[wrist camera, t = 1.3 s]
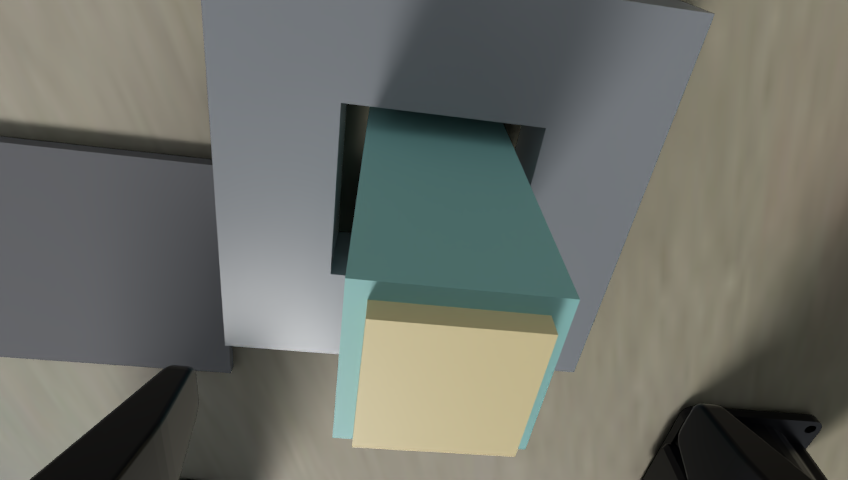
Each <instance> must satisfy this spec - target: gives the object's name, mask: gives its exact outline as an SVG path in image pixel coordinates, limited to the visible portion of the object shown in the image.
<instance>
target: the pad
mask: <svg viewBox="0 0 848 480" xmlns="http://www.w3.org/2000/svg"><path fill="white" fill-rule="evenodd" d="M0 357H11V358H26V359H40V360H54V361H68V362H82V363H96V364H110V365H124V366H138V367H153V368H165V367H167V366H170V365H180V366H191V367H193V368H194V369H195V371H209V372H223V373H231V371H232V369H233V349H232V346H225V337H224V322H223V308H222V294H221V279H220V265H219V250H218V236H217V222H216V207H215V193H214V178H213V164H212V160H211V159H202V158H193V157H184V156H175V155H166V154H157V153H148V152H138V151H129V150H120V149H111V148H102V147H93V146H84V145H75V144H65V143H56V142H47V141H38V140H29V139H20V138H11V137H2V136H0Z"/></svg>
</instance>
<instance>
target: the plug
mask: <svg viewBox="0 0 848 480" xmlns="http://www.w3.org/2000/svg"><path fill="white" fill-rule="evenodd" d="M579 301H580V298H579V296H578V294H577V291H576V289H575V287H574V284H573V282H572V280H571V278H570V275H569V273H568V271H567V268H566V266H565V264H564V262H563V259H562V257H561V255H560V252H559V250H558V248H557V246H556V243H555V241H554V239H553V236H552V234H551V232H550V230H549V227H548V225H547V223H546V220H545V218H544V216H543V214H542V211H541V209H540V207H539V204H538V202H537V200H536V198H535V195H534V193H533V191H532V188H531V186H530V184H529V182H528V179H527V177H526V175H525V172H524V170H523V168H522V166H521V163H520V161H519V159H518V156H517V154H516V152H515V150H514V147H513V145H512V143H511V140H510V138H509V136H508V134H507V131H506V129H505V127H504V124H503V123H501V122H493V121H484V120H476V119H468V118H460V117H452V116H444V115H436V114H427V113H419V112H411V111H403V110H395V109H387V108H379V107H370V108H369V115H368V122H367V129H366V136H365V143H364V150H363V157H362V164H361V171H360V178H359V185H358V192H357V199H356V206H355V213H354V220H353V226H352V233H351V240H350V247H349V254H348V261H347V268H346V275H345V285H344V298H343V311H342V323H341V336H340V349H339V362H338V374H337V387H336V400H335V413H334V425H333V438H346V439H353V441H352V447H357V448H374V449H391V450H407V451H424V452H441V453H458V454H475V455H492V456H509V457H515V456H516V453H517V450H518V449H526V446H527V443H528V441H529V438H530V435H531V432H532V430H533V427H534V424H535V421H536V419H537V416H538V413H539V410H540V408H541V405H542V402H543V400H544V397H545V394H546V391H547V389H548V386H549V383H550V380H551V378H552V375H553V372H554V370H555V367H556V364H557V361H558V359H559V356H560V353H561V350H562V348H563V345H564V342H565V340H566V337H567V334H568V331H569V329H570V326H571V323H572V320H573V318H574V315H575V312H576V310H577V307H578V304H579Z"/></svg>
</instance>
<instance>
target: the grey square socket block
mask: <svg viewBox="0 0 848 480" xmlns="http://www.w3.org/2000/svg"><path fill="white" fill-rule="evenodd" d="M201 6H202V20H203V34H204V49H205V63H206V78H207V92H208V106H209V121H210V135H211V150H212V164H213V178H214V193H215V207H216V222H217V236H218V250H219V265H220V279H221V294H222V308H223V322H224V337H225V346H237V347H250V348H263V349H277V350H290V351H303V352H316V353H329V354H339V349H340V336H341V323H342V311H343V298H344V285H345V275H346V268H347V261H348V254H349V247H350V240H351V233H348V232H338V228H339V213H340V198H341V183H342V168H343V153H344V138H345V123H346V108H347V104H354V105H362V106H370V107H379V108H387V109H395V110H403V111H411V112H419V113H427V114H436V115H444V116H452V117H460V118H468V119H476V120H484V121H493V122H501V123H509V124H517V125H521V128H520V132H519V136H518V141H517V145H516V149H515V152H516V154H517V156H518V159H519V161H520V163H521V166H522V168H523V170H524V172H525V175H526V177H527V179H528V182H529V184H530V186H531V188H532V191H533V193H534V195H535V198H536V200H537V202H538V204H539V207H540V209H541V211H542V214H543V216H544V218H545V220H546V223H547V225H548V227H549V230H550V232H551V234H552V236H553V239H554V241H555V243H556V246H557V248H558V250H559V252H560V255H561V257H562V259H563V262H564V264H565V266H566V268H567V271H568V273H569V275H570V278H571V280H572V282H573V284H574V287H575V289H576V291H577V294H578V296H579V298H580V301H579V304H578V307H577V310H576V312H575V315H574V318H573V320H572V323H571V326H570V329H569V331H568V334H567V337H566V340H565V342H564V345H563V348H562V350H561V353H560V356H559V359H558V361H557V364H556V367H555V370H554V371H567V372H574V371H575V368H576V365H577V363H578V360H579V358H580V355H581V353H582V350H583V348H584V345H585V343H586V340H587V337H588V335H589V332H590V330H591V327H592V325H593V322H594V320H595V317H596V315H597V312H598V309H599V307H600V304H601V302H602V299H603V297H604V294H605V292H606V289H607V287H608V284H609V282H610V279H611V276H612V274H613V271H614V269H615V266H616V264H617V261H618V259H619V256H620V254H621V251H622V248H623V246H624V243H625V241H626V238H627V236H628V233H629V231H630V228H631V226H632V223H633V221H634V218H635V215H636V213H637V210H638V208H639V205H640V203H641V200H642V198H643V195H644V193H645V190H646V187H647V185H648V182H649V180H650V177H651V175H652V172H653V170H654V167H655V165H656V162H657V159H658V157H659V154H660V152H661V149H662V147H663V144H664V142H665V139H666V137H667V134H668V132H669V129H670V126H671V124H672V121H673V119H674V116H675V114H676V111H677V109H678V106H679V104H680V101H681V98H682V96H683V93H684V91H685V88H686V86H687V83H688V81H689V78H690V76H691V73H692V71H693V68H694V65H695V63H696V60H697V58H698V55H699V53H700V50H701V48H702V45H703V43H704V40H705V37H706V35H707V32H708V30H709V27H710V25H711V22H712V20H713V17H714V15H715V14H714V13H711V12H708V11H706V10H703V9H701V8H698V7H696V6H693V5H691V4H688V3H686V2H683V1H681V0H201Z"/></svg>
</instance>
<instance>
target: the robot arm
mask: <svg viewBox="0 0 848 480" xmlns="http://www.w3.org/2000/svg"><path fill="white" fill-rule="evenodd" d="M198 406H199V397H198V388H197V379H196V372H195V369H194V368H193V367H191V366H180V365H170V366H167V367H165V368H164V369H163V370H162V371H160V372H159V373H158V374H157V375H156V376H154V377H153V378H152V379H151V380H150V381H148V382H147V383H146V384H145V385H144V386H142V387H141V388H140V389H139V390H138V391H136V392H135V393H134V394H133V395H131V396H130V397H129V398H128V399H127V400H125V401H124V402H123V403H122V404H121V405H119V406H118V407H117V408H116V409H115V410H113V411H112V412H111V413H110V414H108V415H107V416H106V417H105V418H104V419H102V420H101V421H100V422H99V423H98V424H96V425H95V426H94V427H93V428H92V429H90V430H89V431H88V432H87V433H86V434H84V435H83V436H82V437H81V438H79V439H78V440H77V441H76V442H75V443H73V444H72V445H71V446H70V447H69V448H67V449H66V450H65V451H64V452H63V453H61V454H60V455H59V456H58V457H56V458H55V459H54V460H53V461H52V462H50V463H49V464H48V465H47V466H46V467H44V468H43V469H42V470H41V471H40V472H38V473H37V474H36V475H35V476H34V477H32V478H31V479H30V480H179V477H180V474H181V470H182V467H183V463H184V459H185V456H186V452H187V449H188V445H189V441H190V438H191V434H192V430H193V427H194V423H195V420H196V416H197V412H198ZM821 428H822V424H821V423H820V422H819V421H818V419H817V418H816V417H815V416H814V415H808V414H794V413H779V412H765V411H751V410H737V409H724V408H723V407H721V406H719V405H713V404H697V405H695V406H694V407H689V408H686V409H684V410H683V411H682V412H681V413H680V414H679V416H678V418H677V420H676V422H675V423H674V425H673V427H672V429H671V430H670V432H669V434H668V436H667V437H666V439H665V441H664V443H663V444H662V446H661V448H660V450H659V452H658V453H657V455H656V457H655V459H654V460H653V462H652V464H651V466H650V467H649V469H648V471H647V473H646V475H645V476H644V478H643V480H827V478H826V477H825V475H824V474H823V473H822V471H821V470H820V469H819V467H818V466H817V464H816V463H815V462H814V460H813V459H812V458H811V456H810V455H809V453H808V452H807V451H806V448H807V447H808V445H809V444H810V443H811V442H812V440H813V439H814V438H815V437H816V435H817V434H818V433H819V431H820V430H821Z"/></svg>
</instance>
